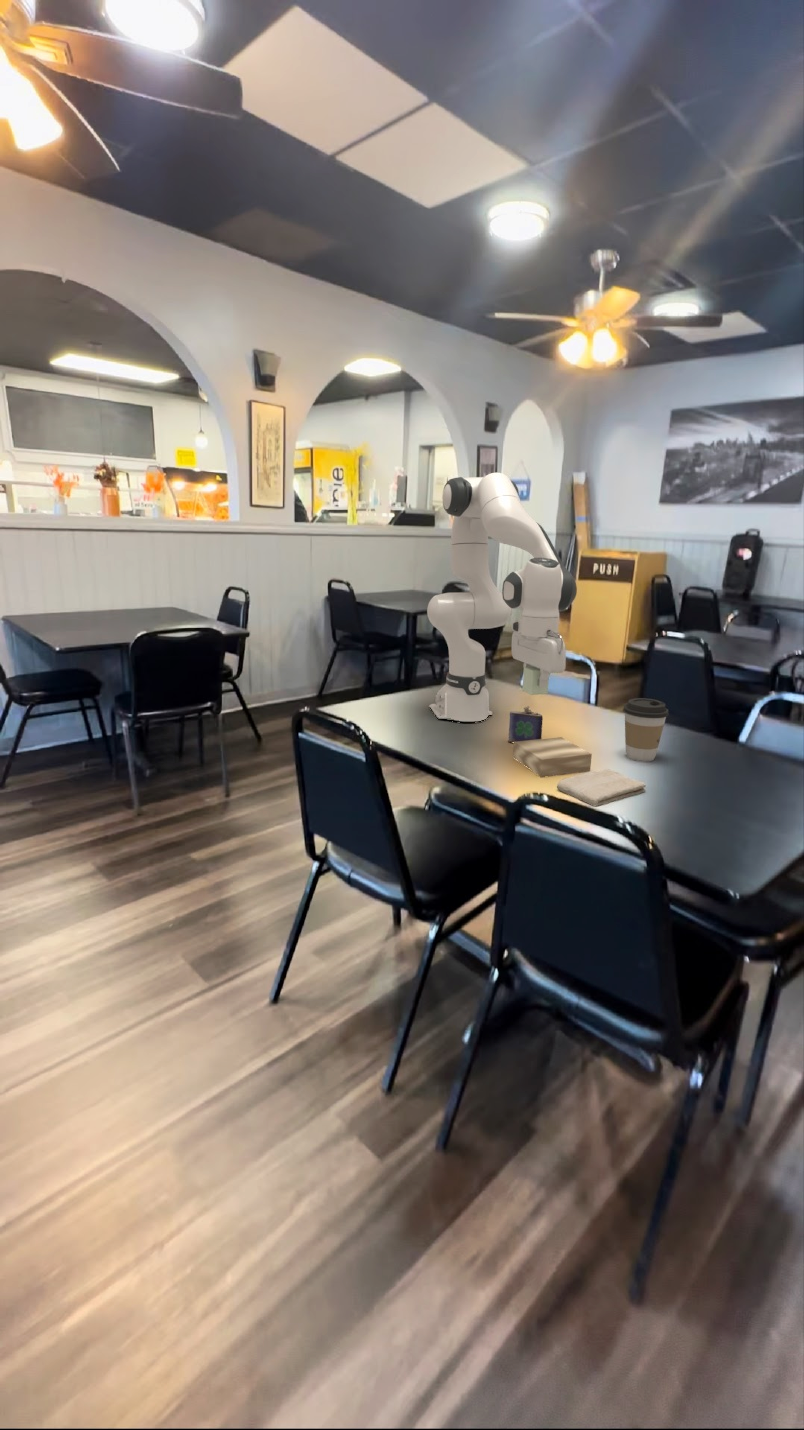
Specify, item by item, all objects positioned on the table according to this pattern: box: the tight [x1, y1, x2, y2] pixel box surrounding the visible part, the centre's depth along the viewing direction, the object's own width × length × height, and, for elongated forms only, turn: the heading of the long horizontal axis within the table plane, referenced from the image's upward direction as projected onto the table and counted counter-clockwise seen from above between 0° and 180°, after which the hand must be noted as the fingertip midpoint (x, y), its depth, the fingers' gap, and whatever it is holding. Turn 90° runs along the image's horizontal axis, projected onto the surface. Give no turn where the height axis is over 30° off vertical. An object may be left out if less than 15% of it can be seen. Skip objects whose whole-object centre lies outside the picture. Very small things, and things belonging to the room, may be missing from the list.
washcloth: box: [556, 768, 646, 807], centre depth 154 cm, size 12×18×3 cm, turn 124°
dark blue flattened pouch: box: [507, 705, 544, 743], centre depth 185 cm, size 9×3×11 cm, turn 65°
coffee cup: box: [622, 697, 670, 763], centre depth 175 cm, size 11×11×15 cm
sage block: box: [522, 667, 550, 696], centre depth 164 cm, size 4×4×6 cm
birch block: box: [513, 736, 593, 778], centre depth 170 cm, size 14×14×5 cm
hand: (535, 683), depth 164 cm, fingers closed on sage block, 4 cm apart
